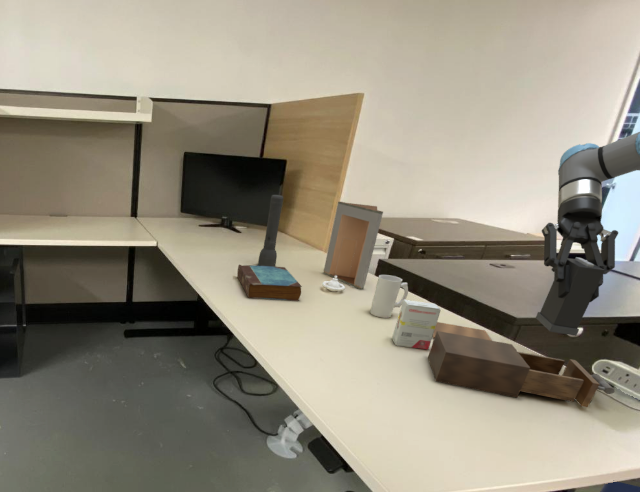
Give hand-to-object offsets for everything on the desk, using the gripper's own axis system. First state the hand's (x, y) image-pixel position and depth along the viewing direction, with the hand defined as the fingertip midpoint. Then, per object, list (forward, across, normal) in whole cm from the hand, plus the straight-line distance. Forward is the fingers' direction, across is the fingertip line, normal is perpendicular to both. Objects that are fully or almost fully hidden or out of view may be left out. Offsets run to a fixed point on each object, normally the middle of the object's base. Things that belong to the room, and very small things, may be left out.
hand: (578, 296), depth 98 cm
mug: (-10, +30, -43) cm, 53 cm away
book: (-14, +69, -47) cm, 85 cm away
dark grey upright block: (+3, 0, -8) cm, 9 cm away
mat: (-5, +10, -38) cm, 39 cm away
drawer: (+15, -3, -16) cm, 22 cm away
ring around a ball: (-22, +47, -55) cm, 75 cm away
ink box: (+6, +25, -27) cm, 38 cm away
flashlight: (-35, +74, -68) cm, 107 cm away
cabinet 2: (+16, +13, -17) cm, 27 cm away
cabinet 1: (-35, +41, -68) cm, 86 cm away
